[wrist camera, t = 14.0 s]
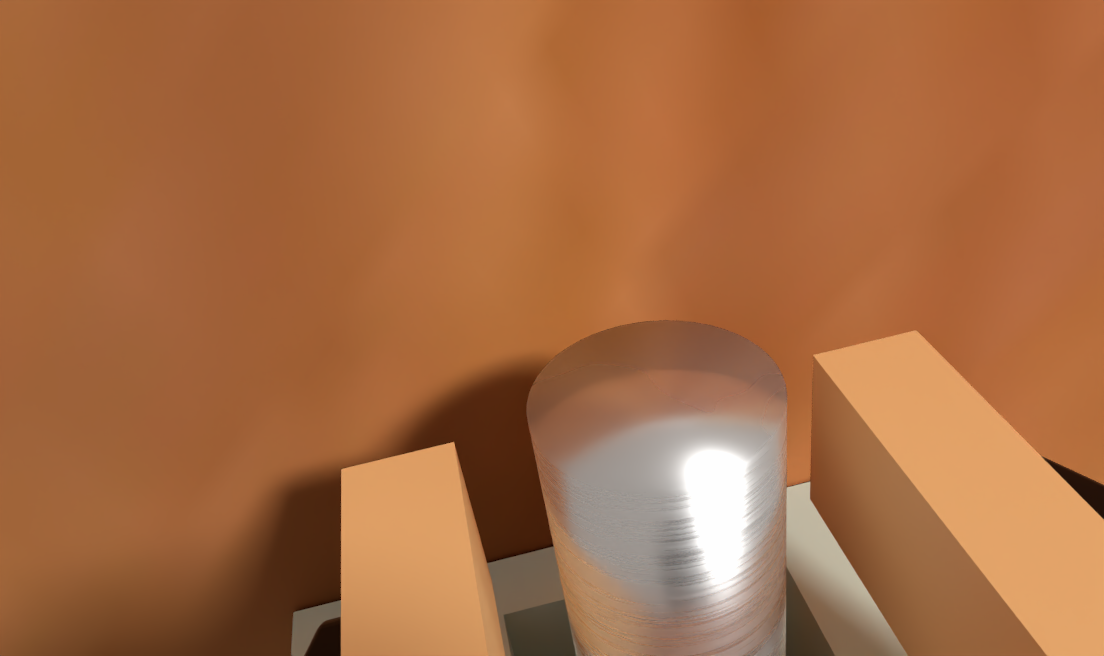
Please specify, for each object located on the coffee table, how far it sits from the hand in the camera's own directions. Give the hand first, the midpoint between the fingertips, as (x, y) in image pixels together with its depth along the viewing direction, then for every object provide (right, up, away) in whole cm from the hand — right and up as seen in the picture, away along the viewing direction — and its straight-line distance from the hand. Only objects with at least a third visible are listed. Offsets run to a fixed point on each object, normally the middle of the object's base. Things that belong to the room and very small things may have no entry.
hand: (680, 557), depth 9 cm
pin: (0, -2, +4) cm, 5 cm away
